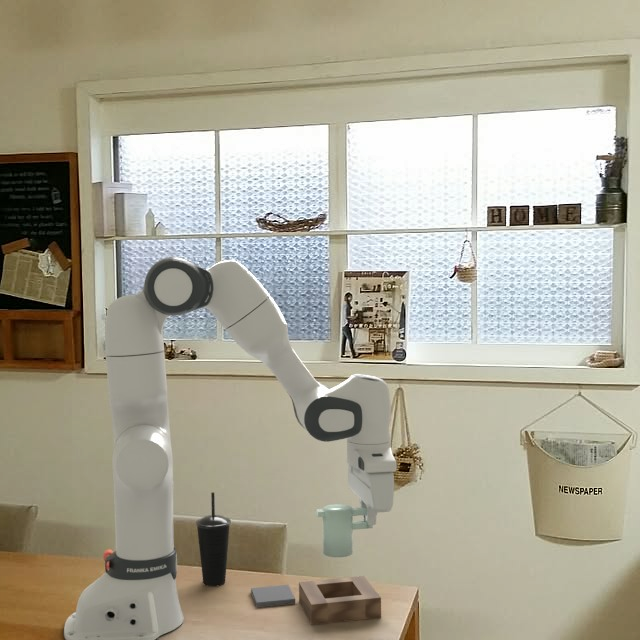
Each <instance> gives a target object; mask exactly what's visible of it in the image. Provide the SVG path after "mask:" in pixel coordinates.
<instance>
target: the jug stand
mask: <svg viewBox="0 0 640 640" xmlns="http://www.w3.org/2000/svg"><path fill="white" fill-rule="evenodd" d="M298 592H299V593H298V601H299V603H300V606H301V607H302V609H303V612H304V613H305V616H306V617H307V619H308V621H309V623H310V624H311V626H312V625H313V626H314V625H320V624H321V625H323V624H331V623H332V624H333V623H343V622H351V621H360V620H369V619H377V618H378V619H380V618H382V597H381V595H380V594H379V593H378V592H377V591H376V589H375V588H374V587H373V586H372V584H371V583H370V581H369V580H368V579H367V578H366V576H365V575H362V576H361V575H360V576H350V577H340V578H330V579H328V578H327V579H318V580H309V581H306V580H305V581H298Z"/></svg>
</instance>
